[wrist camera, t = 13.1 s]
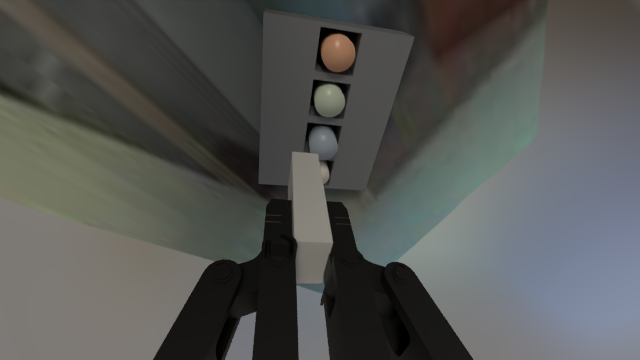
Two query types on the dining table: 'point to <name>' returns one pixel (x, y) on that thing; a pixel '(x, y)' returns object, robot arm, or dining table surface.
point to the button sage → (328, 98)
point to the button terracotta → (337, 51)
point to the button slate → (322, 141)
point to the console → (296, 87)
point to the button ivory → (324, 170)
